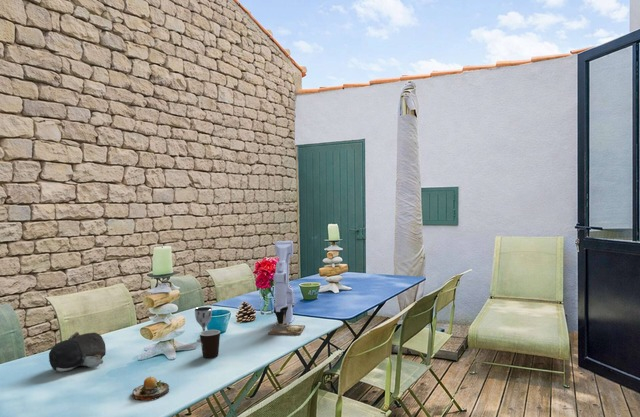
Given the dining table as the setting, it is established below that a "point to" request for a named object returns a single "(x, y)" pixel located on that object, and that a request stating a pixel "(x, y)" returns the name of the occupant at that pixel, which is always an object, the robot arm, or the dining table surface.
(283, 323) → the planet hub
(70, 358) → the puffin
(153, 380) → the brimmed hat
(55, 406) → the dining table surface
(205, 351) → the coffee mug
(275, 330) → the plate
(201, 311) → the wine glass
